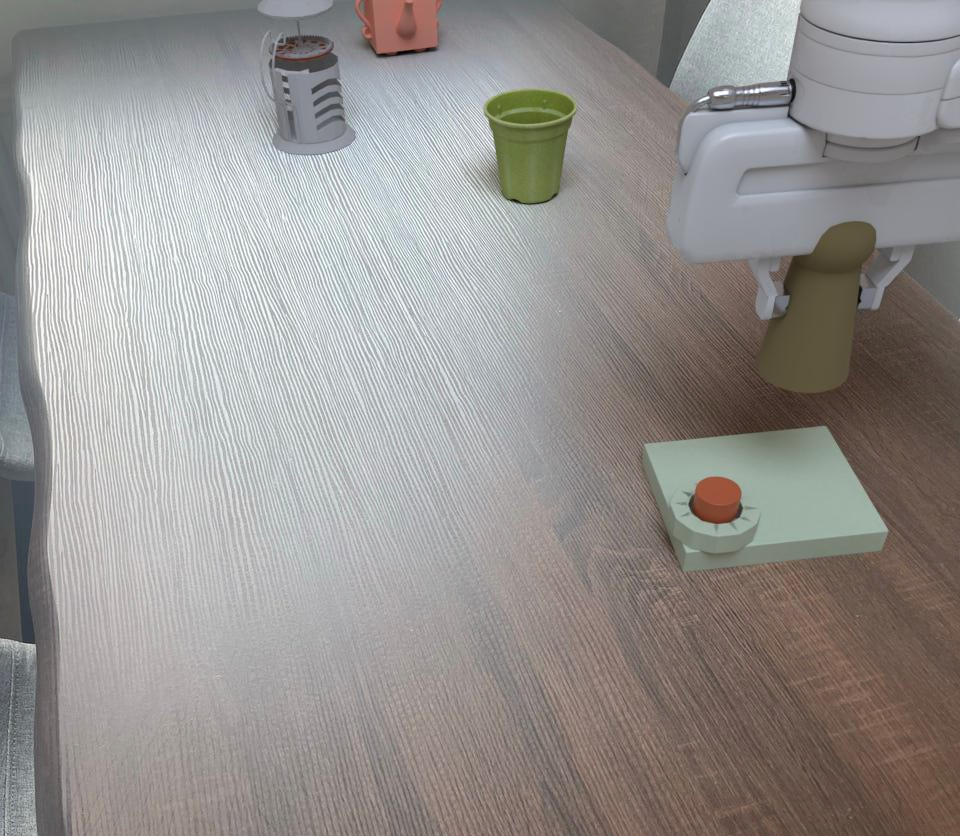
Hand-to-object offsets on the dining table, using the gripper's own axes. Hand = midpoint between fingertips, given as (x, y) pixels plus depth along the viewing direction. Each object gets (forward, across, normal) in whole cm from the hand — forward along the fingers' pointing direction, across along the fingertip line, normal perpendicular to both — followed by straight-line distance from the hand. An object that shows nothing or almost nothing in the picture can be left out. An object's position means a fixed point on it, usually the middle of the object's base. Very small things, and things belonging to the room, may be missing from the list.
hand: (816, 310), depth 65 cm
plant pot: (+14, -10, +51) cm, 54 cm away
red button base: (+14, -2, -2) cm, 14 cm away
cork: (+4, 0, 0) cm, 4 cm away
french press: (+14, -33, +69) cm, 78 cm away
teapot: (+14, -20, +98) cm, 101 cm away
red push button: (+11, -6, -6) cm, 14 cm away
